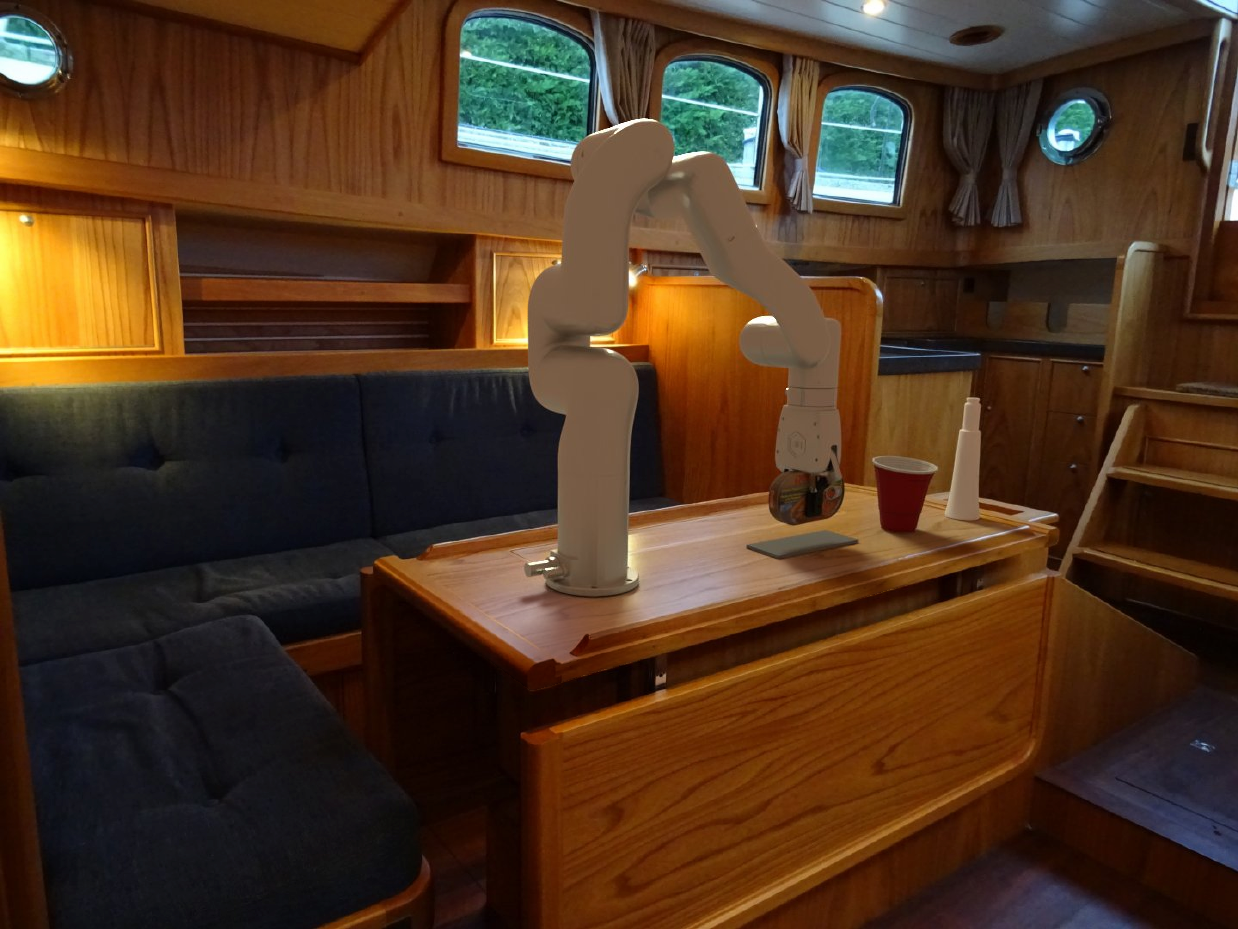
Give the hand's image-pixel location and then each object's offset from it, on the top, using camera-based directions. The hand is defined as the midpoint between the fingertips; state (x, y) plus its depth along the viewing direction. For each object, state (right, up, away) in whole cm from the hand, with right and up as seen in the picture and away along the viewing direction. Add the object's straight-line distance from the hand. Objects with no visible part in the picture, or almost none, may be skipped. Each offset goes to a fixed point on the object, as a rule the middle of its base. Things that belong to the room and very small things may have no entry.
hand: (805, 512), depth 135 cm
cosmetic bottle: (+34, -2, +22) cm, 40 cm away
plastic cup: (+19, -4, +12) cm, 23 cm away
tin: (0, -1, 0) cm, 1 cm away
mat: (0, -5, +1) cm, 5 cm away
